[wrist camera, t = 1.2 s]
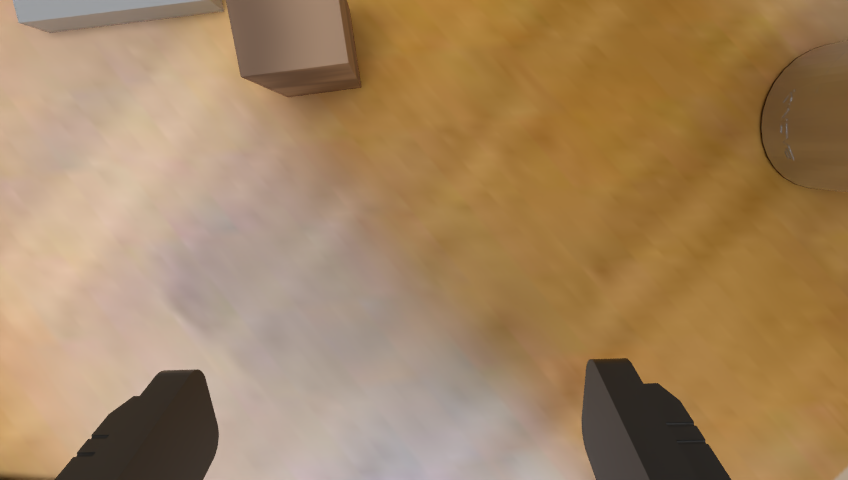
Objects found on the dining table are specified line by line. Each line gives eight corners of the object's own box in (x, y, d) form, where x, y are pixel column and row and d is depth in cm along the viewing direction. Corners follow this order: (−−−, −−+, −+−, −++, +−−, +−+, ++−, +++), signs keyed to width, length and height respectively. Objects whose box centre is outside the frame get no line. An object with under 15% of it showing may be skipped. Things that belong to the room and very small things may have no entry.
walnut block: (349, 9, 30) (330, -54, 21) (361, 87, 31) (348, 62, 22) (273, 18, 30) (218, -40, 21) (287, 97, 31) (241, 76, 21)
